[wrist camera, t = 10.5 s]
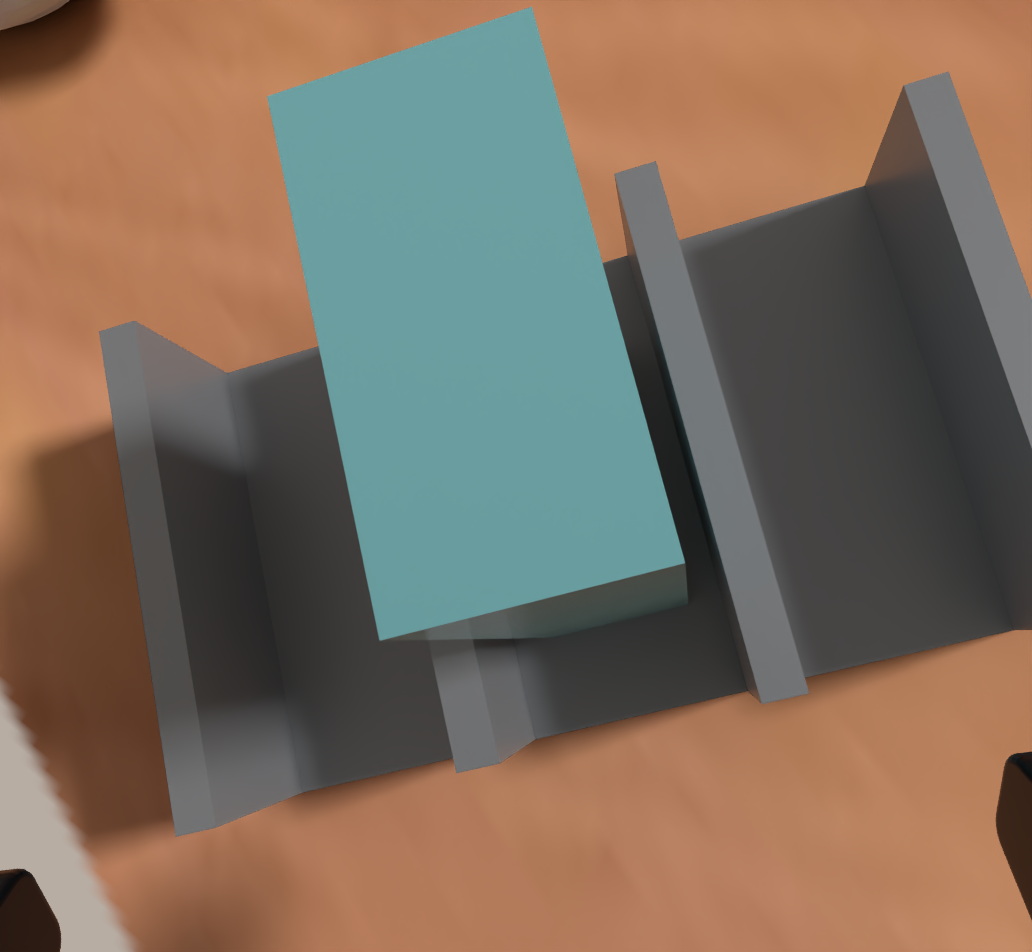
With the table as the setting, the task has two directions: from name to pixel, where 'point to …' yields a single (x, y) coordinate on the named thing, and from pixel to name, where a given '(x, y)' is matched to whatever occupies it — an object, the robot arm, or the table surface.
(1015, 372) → the rack
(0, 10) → the teacup
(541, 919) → the table surface
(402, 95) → the block
